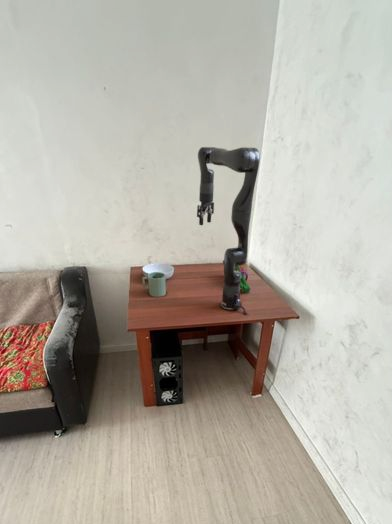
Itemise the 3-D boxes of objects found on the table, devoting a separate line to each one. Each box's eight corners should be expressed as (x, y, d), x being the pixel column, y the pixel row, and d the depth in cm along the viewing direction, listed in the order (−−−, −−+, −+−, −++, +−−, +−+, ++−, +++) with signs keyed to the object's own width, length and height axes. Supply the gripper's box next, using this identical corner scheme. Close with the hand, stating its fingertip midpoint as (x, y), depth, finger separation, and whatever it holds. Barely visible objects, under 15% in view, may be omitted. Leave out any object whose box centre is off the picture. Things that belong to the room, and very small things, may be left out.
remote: (156, 290, 181) (155, 275, 175) (161, 292, 179) (160, 277, 173) (153, 291, 179) (152, 276, 173) (158, 293, 177) (157, 278, 171)
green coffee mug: (167, 290, 183) (166, 272, 176) (164, 297, 175) (163, 279, 168) (145, 288, 184) (144, 271, 177) (141, 295, 176) (139, 277, 169)
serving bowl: (178, 281, 194) (178, 271, 190) (148, 286, 187) (147, 276, 182) (167, 270, 209) (167, 261, 205) (139, 274, 202) (138, 265, 198)
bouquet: (233, 303, 185) (219, 275, 204) (257, 300, 188) (241, 273, 207) (239, 276, 170) (223, 249, 189) (265, 274, 174) (247, 248, 193)
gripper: (205, 194, 151) (204, 227, 161) (219, 191, 161) (216, 222, 171) (193, 192, 155) (192, 225, 164) (207, 189, 164) (206, 220, 174)
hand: (205, 223), depth 167 cm, fingers open, 8 cm apart
